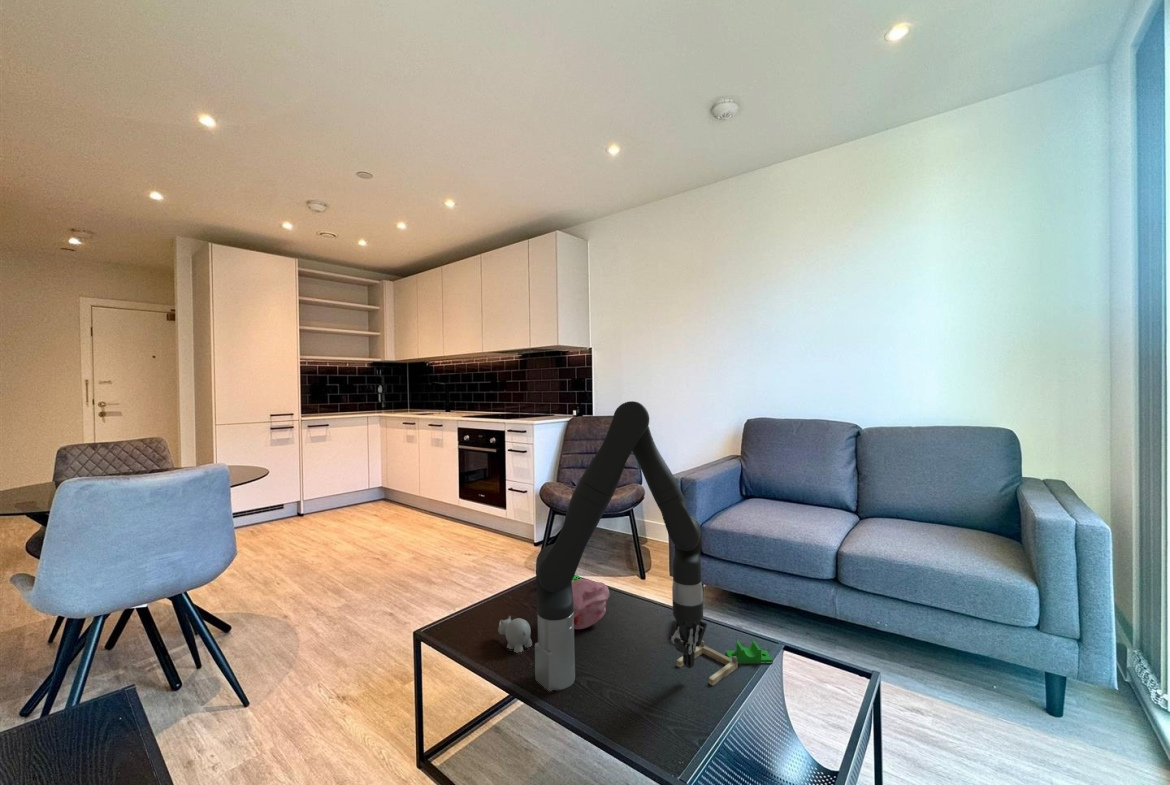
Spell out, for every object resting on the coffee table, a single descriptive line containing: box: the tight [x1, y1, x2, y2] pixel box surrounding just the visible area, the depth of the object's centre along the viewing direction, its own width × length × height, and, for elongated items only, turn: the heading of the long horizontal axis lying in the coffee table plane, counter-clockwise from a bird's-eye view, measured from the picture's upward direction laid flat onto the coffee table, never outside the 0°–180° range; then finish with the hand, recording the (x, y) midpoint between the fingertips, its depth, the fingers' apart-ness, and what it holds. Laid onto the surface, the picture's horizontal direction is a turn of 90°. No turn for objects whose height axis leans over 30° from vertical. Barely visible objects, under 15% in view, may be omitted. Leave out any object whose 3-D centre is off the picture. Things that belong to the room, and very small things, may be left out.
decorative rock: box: [572, 578, 610, 630], centre depth 142 cm, size 19×14×15 cm
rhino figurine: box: [497, 615, 533, 653], centre depth 131 cm, size 7×12×8 cm, turn 48°
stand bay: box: [676, 639, 739, 686], centre depth 119 cm, size 11×11×3 cm
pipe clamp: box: [725, 640, 774, 664], centre depth 122 cm, size 11×4×5 cm
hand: (689, 665), depth 114 cm, fingers closed
